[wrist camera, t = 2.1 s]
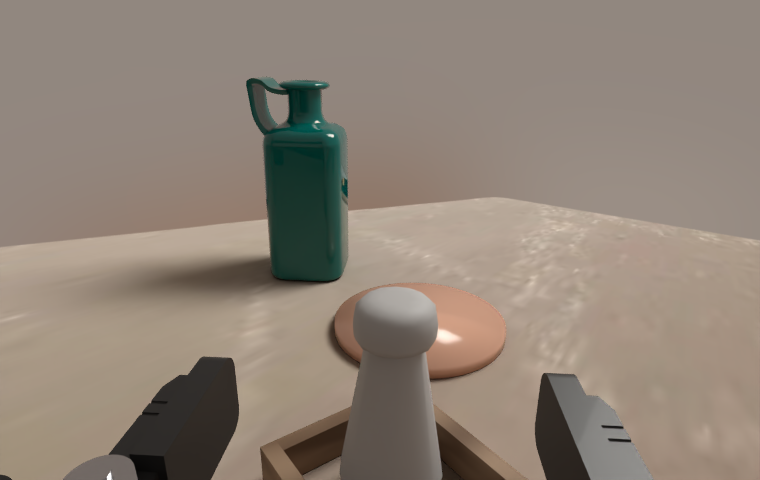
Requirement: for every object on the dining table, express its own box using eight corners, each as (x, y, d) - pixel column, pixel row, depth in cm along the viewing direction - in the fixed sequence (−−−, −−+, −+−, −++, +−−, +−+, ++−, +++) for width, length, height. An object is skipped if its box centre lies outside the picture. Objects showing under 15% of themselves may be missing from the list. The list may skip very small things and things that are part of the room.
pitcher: (350, 256, 64) (348, 77, 57) (340, 284, 56) (337, 80, 49) (275, 253, 65) (264, 75, 57) (255, 280, 57) (239, 78, 50)
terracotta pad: (304, 317, 49) (303, 308, 49) (427, 279, 58) (427, 271, 58) (406, 404, 37) (406, 393, 37) (541, 339, 46) (543, 329, 45)
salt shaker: (416, 562, 25) (428, 340, 21) (321, 517, 28) (313, 309, 23) (453, 480, 30) (469, 287, 26) (369, 448, 33) (371, 266, 28)
